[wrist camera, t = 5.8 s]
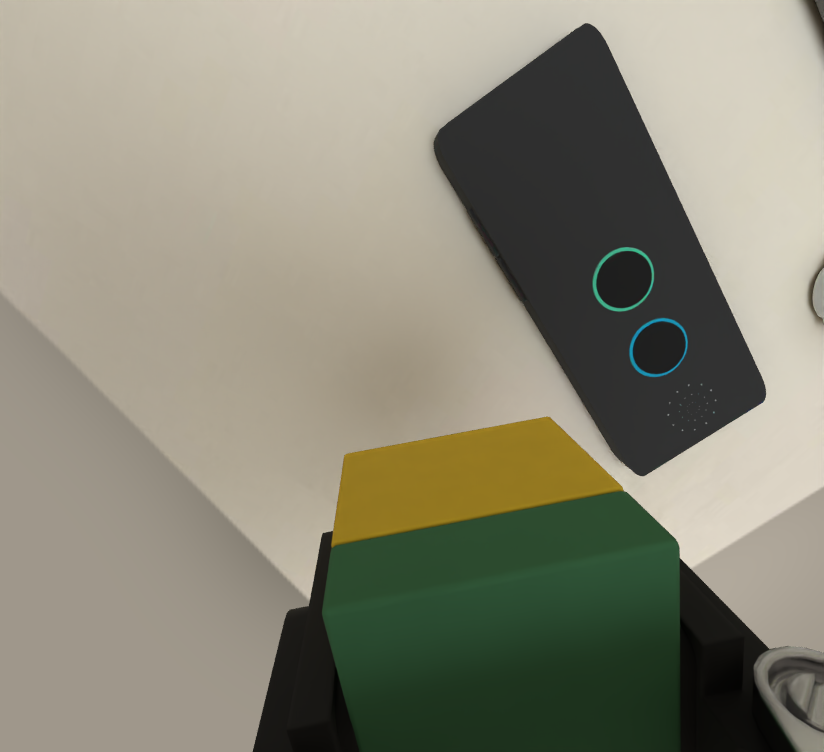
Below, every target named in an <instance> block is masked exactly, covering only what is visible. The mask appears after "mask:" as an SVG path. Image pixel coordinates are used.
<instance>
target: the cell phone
mask: <svg viewBox="0 0 824 752" xmlns="http://www.w3.org/2000/svg"><path fill="white" fill-rule="evenodd" d="M815 2H816V5H817V7H818V10H819V12H820V15H821V17H822V20H823V22H824V0H815Z"/></svg>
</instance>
